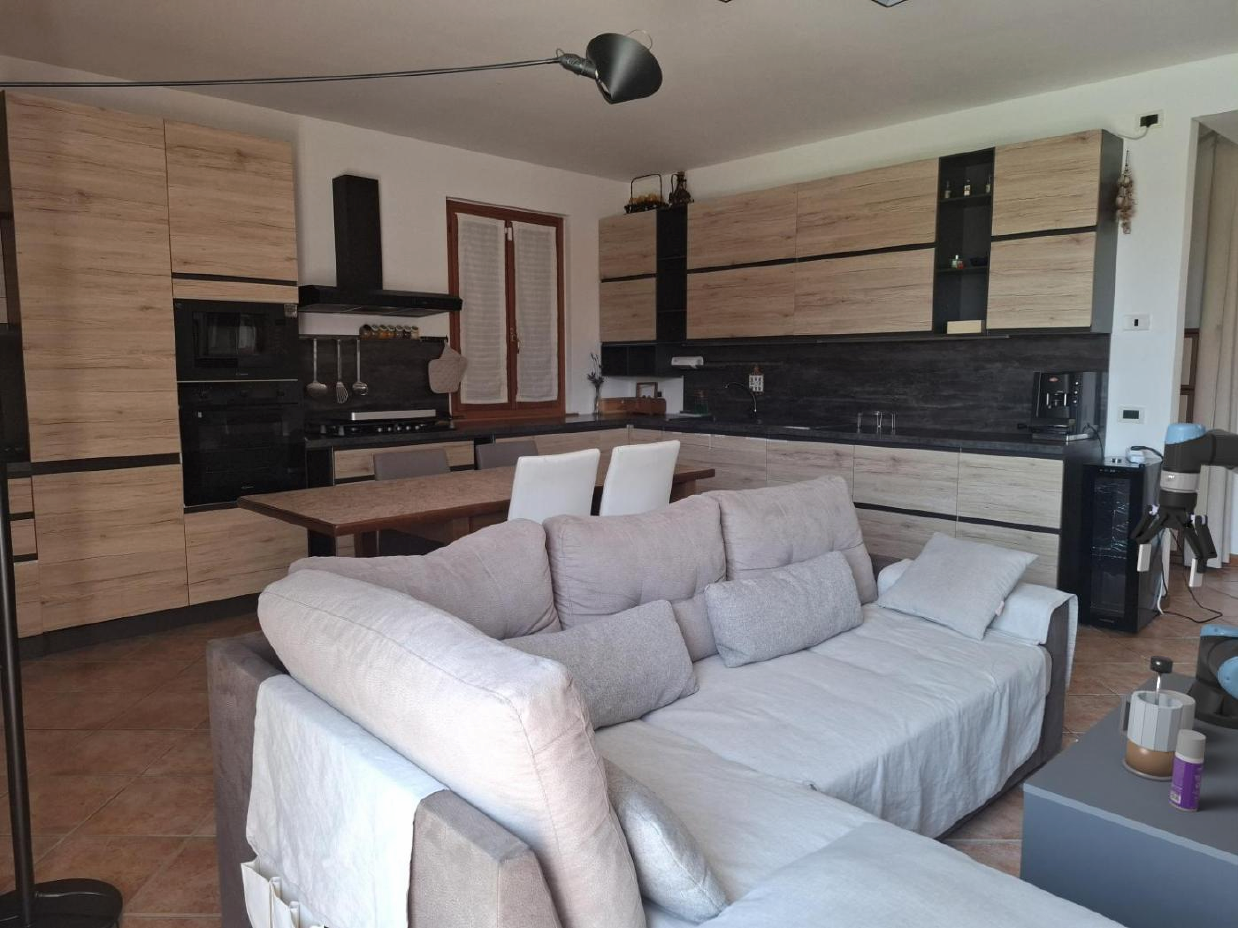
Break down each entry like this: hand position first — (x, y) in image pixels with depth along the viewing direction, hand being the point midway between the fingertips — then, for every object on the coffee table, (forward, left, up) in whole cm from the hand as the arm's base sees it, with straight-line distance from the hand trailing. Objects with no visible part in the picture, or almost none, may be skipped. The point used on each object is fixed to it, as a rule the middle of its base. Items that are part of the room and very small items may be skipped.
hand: (1168, 578), depth 197 cm
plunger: (+20, +17, -29) cm, 39 cm away
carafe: (+20, +16, -37) cm, 45 cm away
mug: (+2, +7, -37) cm, 38 cm away
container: (+26, +30, -37) cm, 54 cm away
